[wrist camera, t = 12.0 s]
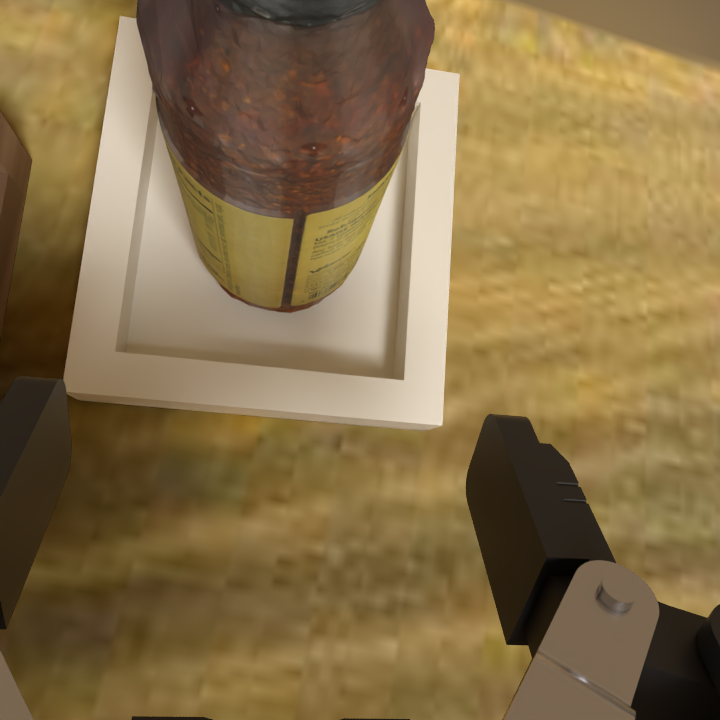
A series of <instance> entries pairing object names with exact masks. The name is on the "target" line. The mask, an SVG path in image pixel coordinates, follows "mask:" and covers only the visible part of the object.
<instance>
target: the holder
mask: <svg viewBox="0 0 720 720" xmlns="http://www.w3.org/2000/svg"><path fill="white" fill-rule="evenodd" d="M31 164H32V160H31V158H30V156H29V155H28V153H27V152H26V150H25V149H24V147H23V146H22V144H21V142H20V141H19V139H18V138H17V136H16V135H15V133H14V132H13V130H12V128H11V127H10V125H9V124H8V122H7V121H6V119H5V118H4V116H3V114H2V113H1V111H0V340H1V334H2V328H3V323H4V317H5V311H6V306H7V300H8V294H9V289H10V283H11V277H12V272H13V266H14V260H15V255H16V249H17V243H18V238H19V232H20V226H21V220H22V215H23V209H24V203H25V198H26V192H27V186H28V181H29V175H30V169H31Z"/></svg>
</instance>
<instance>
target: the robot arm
mask: <svg viewBox="0 0 720 720" xmlns="http://www.w3.org/2000/svg"><path fill="white" fill-rule="evenodd" d="M71 452H72V442H71V432H70V422H69V412H68V402H67V393H66V386H65V383H64V381H63V380H62V379H53V378H40V377H27V376H18V377H17V378H16V379H15V380H14V381H13V383H12V385H11V387H10V388H9V390H8V392H7V393H6V395H5V397H4V399H3V400H2V402H1V403H0V629H7V627H8V624H9V622H10V619H11V616H12V614H13V611H14V609H15V606H16V604H17V601H18V599H19V596H20V594H21V591H22V589H23V586H24V584H25V581H26V579H27V576H28V574H29V571H30V569H31V566H32V563H33V561H34V558H35V556H36V553H37V551H38V548H39V546H40V543H41V541H42V538H43V536H44V533H45V531H46V528H47V526H48V523H49V521H50V518H51V515H52V513H53V510H54V508H55V505H56V503H57V500H58V498H59V495H60V493H61V490H62V488H63V485H64V483H65V480H66V478H67V475H68V471H69V467H70V461H71ZM466 497H467V502H468V506H469V510H470V513H471V517H472V520H473V524H474V528H475V531H476V535H477V539H478V542H479V546H480V550H481V553H482V557H483V560H484V564H485V568H486V571H487V575H488V579H489V582H490V586H491V590H492V593H493V597H494V600H495V604H496V608H497V611H498V615H499V619H500V622H501V626H502V630H503V633H504V637H505V640H506V644H507V645H528V646H529V649H530V652H531V656H532V660H531V662H530V664H529V666H528V668H527V670H526V672H525V674H524V676H523V678H522V680H521V682H520V685H519V687H518V689H517V691H516V693H515V695H514V697H513V699H512V701H511V703H510V705H509V707H508V709H507V711H506V713H505V715H504V717H503V719H502V720H720V605H718V606H717V607H715V608H714V610H713V611H712V612H711V614H710V615H709V617H708V618H706V617H703V616H699V615H696V614H693V613H690V612H687V611H684V610H681V609H678V608H675V607H671V606H668V605H666V604H663V603H660V602H658V601H657V599H656V597H655V595H654V593H653V591H652V590H651V588H650V587H649V586H648V585H647V584H646V582H645V581H644V580H642V579H641V578H640V577H639V576H638V575H637V574H635V573H634V572H632V571H631V570H629V569H627V568H626V567H623V566H621V565H619V564H616V561H615V559H614V557H613V555H612V553H611V551H610V549H609V547H608V544H607V542H606V540H605V538H604V536H603V534H602V532H601V530H600V528H599V525H598V523H597V521H596V519H595V517H594V515H593V513H592V511H591V508H590V506H589V504H586V498H585V496H584V494H583V491H582V489H581V487H578V481H577V479H576V477H575V474H574V472H573V470H572V468H571V466H570V464H569V462H568V461H567V460H566V459H565V458H564V457H563V456H562V455H561V454H560V453H559V452H558V451H557V450H556V449H555V448H554V447H553V446H552V445H551V444H543V443H539V441H538V439H537V436H536V434H535V432H534V430H533V427H532V425H531V423H530V421H529V419H528V418H527V417H521V416H508V415H495V414H489V415H488V416H487V417H486V419H485V421H484V423H483V426H482V429H481V432H480V435H479V438H478V441H477V444H476V447H475V450H474V454H473V457H472V460H471V463H470V466H469V469H468V473H467V479H466ZM0 720H33V718H32V715H31V713H30V711H29V709H28V707H27V705H26V703H25V701H24V699H23V697H22V695H21V693H20V691H19V688H18V686H17V684H16V682H15V680H14V678H13V676H12V674H11V672H10V670H9V668H8V666H7V664H6V662H5V659H4V657H3V655H2V653H1V651H0ZM132 720H212V719H208V718H205V717H135V716H132ZM341 720H410V719H341Z"/></svg>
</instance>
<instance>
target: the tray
mask: <svg viewBox="0 0 720 720" xmlns="http://www.w3.org/2000/svg"><path fill="white" fill-rule="evenodd" d="M458 94H459V74H456V73H450V72H444V71H438V70H433V69H427V68H426V70H425V79H424V82H423V86H422V88H421V90H420V93H419V96H418V98H417V101H416V103H415V109H414V111H413V113H412V118H411V125H410V130H409V133H408V137H407V140H406V143H405V145H404V148H403V150H402V153H401V155H400V158H399V160H398V163H397V165H396V168H395V170H394V173H393V175H392V177H391V180H390V182H389V185H388V187H387V189H386V192H385V194H384V197H383V199H382V202H381V204H380V207H379V209H378V212H377V214H376V217H375V220H374V222H373V225H372V227H371V230H370V232H369V235H368V238H367V240H366V243H365V245H364V247H363V250H362V252H361V254H360V257H359V259H358V261H357V263H356V265H355V267H354V268H353V270H352V271H351V273H350V274H349V276H348V277H347V279H346V280H345V281H344V283H343V284H342V285H341V286H340V287H339V288H337V289H336V290H335V291H334V292H333V293H331V294H330V295H329V296H327V297H326V298H324V299H323V300H322V301H321V302H320V303H318V304H315V305H313V306H311V307H310V308H307V309H304V310H300V311H296V312H292V313H285V312H277V311H269V310H264V309H261V308H257V307H253V306H249V305H247V304H245V303H243V302H242V301H239V300H237V299H234V298H232V297H230V296H229V295H228V294H227V293H226V292H225V291H224V290H223V289H222V288H221V286H220V284H219V283H218V281H217V280H216V279H215V278H214V277H213V276H212V275H211V273H210V272H209V271H208V269H207V268H206V267H205V265H204V263H203V262H202V260H201V259H200V257H199V254H198V251H197V248H196V244H195V241H194V238H193V234H192V231H191V228H190V224H189V220H188V216H187V213H186V209H185V206H184V202H183V199H182V195H181V192H180V189H179V185H178V182H177V179H176V175H175V172H174V169H173V165H172V162H171V159H170V156H169V153H168V150H167V147H166V143H165V140H164V136H163V133H162V130H161V127H160V123H159V118H158V114H157V107H156V99H155V94H154V92H153V90H152V81H151V77H150V75H149V72H148V65H147V61H146V57H145V53H144V49H143V46H142V42H141V38H140V34H139V30H138V26H137V23H136V18H130V17H125V16H120V20H119V27H118V33H117V39H116V46H115V52H114V58H113V65H112V71H111V78H110V84H109V90H108V97H107V103H106V110H105V116H104V122H103V129H102V135H101V142H100V148H99V154H98V161H97V167H96V173H95V180H94V186H93V193H92V199H91V205H90V212H89V218H88V225H87V231H86V237H85V244H84V250H83V257H82V263H81V269H80V276H79V282H78V289H77V295H76V301H75V308H74V314H73V320H72V327H71V333H70V340H69V346H68V352H67V359H66V365H65V372H64V378H63V381H64V383H65V386H66V393H67V395H69V396H71V397H73V398H75V399H77V400H80V401H91V402H103V403H114V404H125V405H136V406H148V407H159V408H170V409H182V410H193V411H204V412H216V413H227V414H238V415H249V416H261V417H272V418H283V419H295V420H306V421H317V422H329V423H340V424H351V425H362V426H374V427H385V428H396V429H408V430H419V431H426V430H429V429H433V428H436V427H439V426H442V421H443V401H444V380H445V360H446V339H447V319H448V298H449V278H450V257H451V237H452V216H453V196H454V175H455V155H456V134H457V114H458Z"/></svg>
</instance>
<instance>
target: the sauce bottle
mask: <svg viewBox="0 0 720 720" xmlns="http://www.w3.org/2000/svg"><path fill="white" fill-rule="evenodd" d="M136 23H137V26H138V30H139V34H140V38H141V42H142V46H143V49H144V53H145V57H146V61H147V65H148V72H149V75H150V77H151V81H152V90H153V92H154V94H155V99H156V107H157V114H158V118H159V123H160V127H161V130H162V133H163V136H164V140H165V143H166V147H167V150H168V153H169V156H170V159H171V162H172V165H173V169H174V172H175V175H176V179H177V182H178V185H179V189H180V192H181V195H182V199H183V202H184V206H185V209H186V213H187V216H188V220H189V224H190V228H191V231H192V234H193V238H194V241H195V244H196V248H197V251H198V254H199V257H200V259H201V260H202V262H203V263H204V265H205V267H206V268H207V269H208V271H209V272H210V273H211V275H212V276H213V277H214V278H215V279H216V280H217V281H218V283H219V284H220V286H221V288H222V289H223V290H224V291H225V292H226V293H227V294H228V295H229V296H230V297H232V298H234V299H237V300H239V301H242V302H243V303H245V304H247V305H249V306H253V307H257V308H261V309H264V310H269V311H277V312H285V313H292V312H296V311H300V310H304V309H307V308H310V307H311V306H313V305H315V304H318V303H320V302H321V301H322V300H323V299H324V298H326V297H327V296H329V295H330V294H331V293H333V292H334V291H335V290H336V289H337V288H339V287H340V286H341V285H342V284H343V283H344V281H345V280H346V279H347V277H348V276H349V274H350V273H351V271H352V270H353V268H354V267H355V265H356V263H357V261H358V259H359V257H360V254H361V252H362V250H363V247H364V245H365V243H366V240H367V238H368V235H369V232H370V230H371V227H372V225H373V222H374V220H375V217H376V214H377V212H378V209H379V207H380V204H381V202H382V199H383V197H384V194H385V192H386V189H387V187H388V185H389V182H390V180H391V177H392V175H393V173H394V170H395V168H396V165H397V163H398V160H399V158H400V155H401V153H402V150H403V148H404V145H405V143H406V140H407V137H408V133H409V130H410V125H411V118H412V113H413V111H414V109H415V103H416V101H417V98H418V96H419V93H420V90H421V88H422V86H423V82H424V79H425V70H426V65H427V60H428V56H429V53H430V48H431V45H432V43H433V40H434V32H435V26H434V25H435V24H434V19H433V18H432V16H431V15H430V12H429V10H428V7H427V5H426V2H425V0H138V2H137V16H136Z"/></svg>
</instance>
